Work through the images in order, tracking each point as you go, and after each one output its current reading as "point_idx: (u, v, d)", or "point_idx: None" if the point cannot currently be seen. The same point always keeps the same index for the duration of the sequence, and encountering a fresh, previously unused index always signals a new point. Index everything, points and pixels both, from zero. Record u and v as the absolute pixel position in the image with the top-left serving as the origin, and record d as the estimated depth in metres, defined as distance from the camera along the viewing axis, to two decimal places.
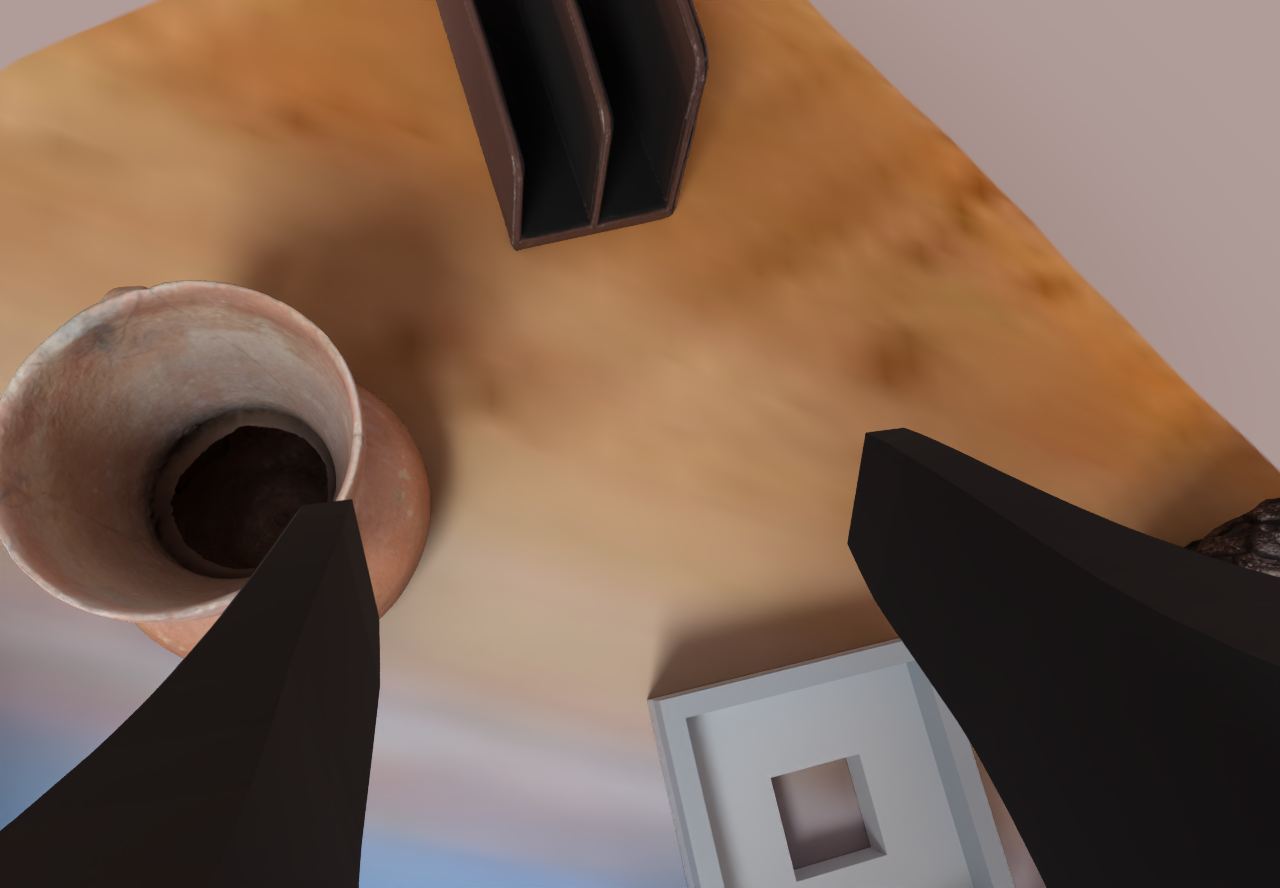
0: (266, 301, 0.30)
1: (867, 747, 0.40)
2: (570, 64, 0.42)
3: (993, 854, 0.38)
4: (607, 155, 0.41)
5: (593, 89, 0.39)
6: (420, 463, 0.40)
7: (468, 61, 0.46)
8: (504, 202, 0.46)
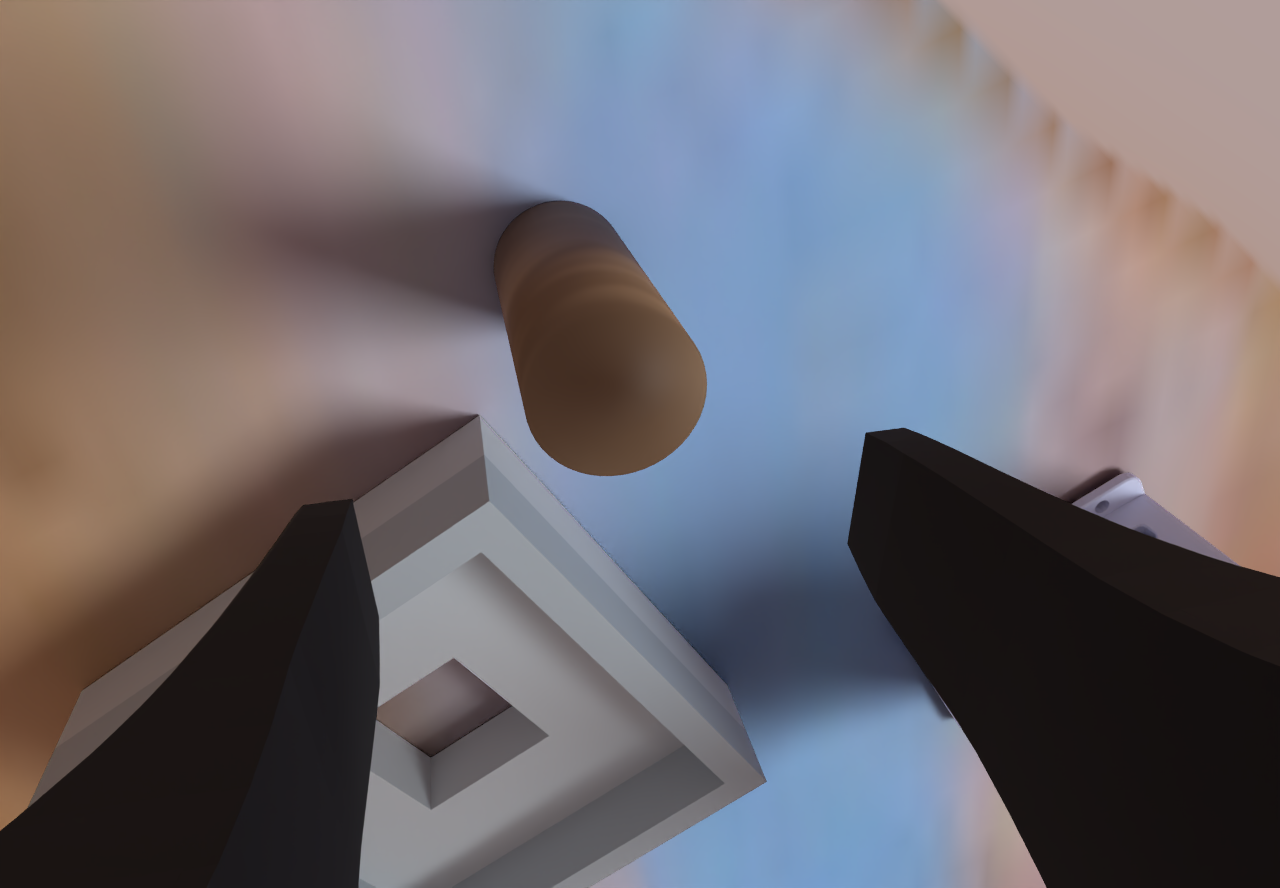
0: None
1: None
2: None
3: None
4: None
5: None
6: None
7: None
8: None
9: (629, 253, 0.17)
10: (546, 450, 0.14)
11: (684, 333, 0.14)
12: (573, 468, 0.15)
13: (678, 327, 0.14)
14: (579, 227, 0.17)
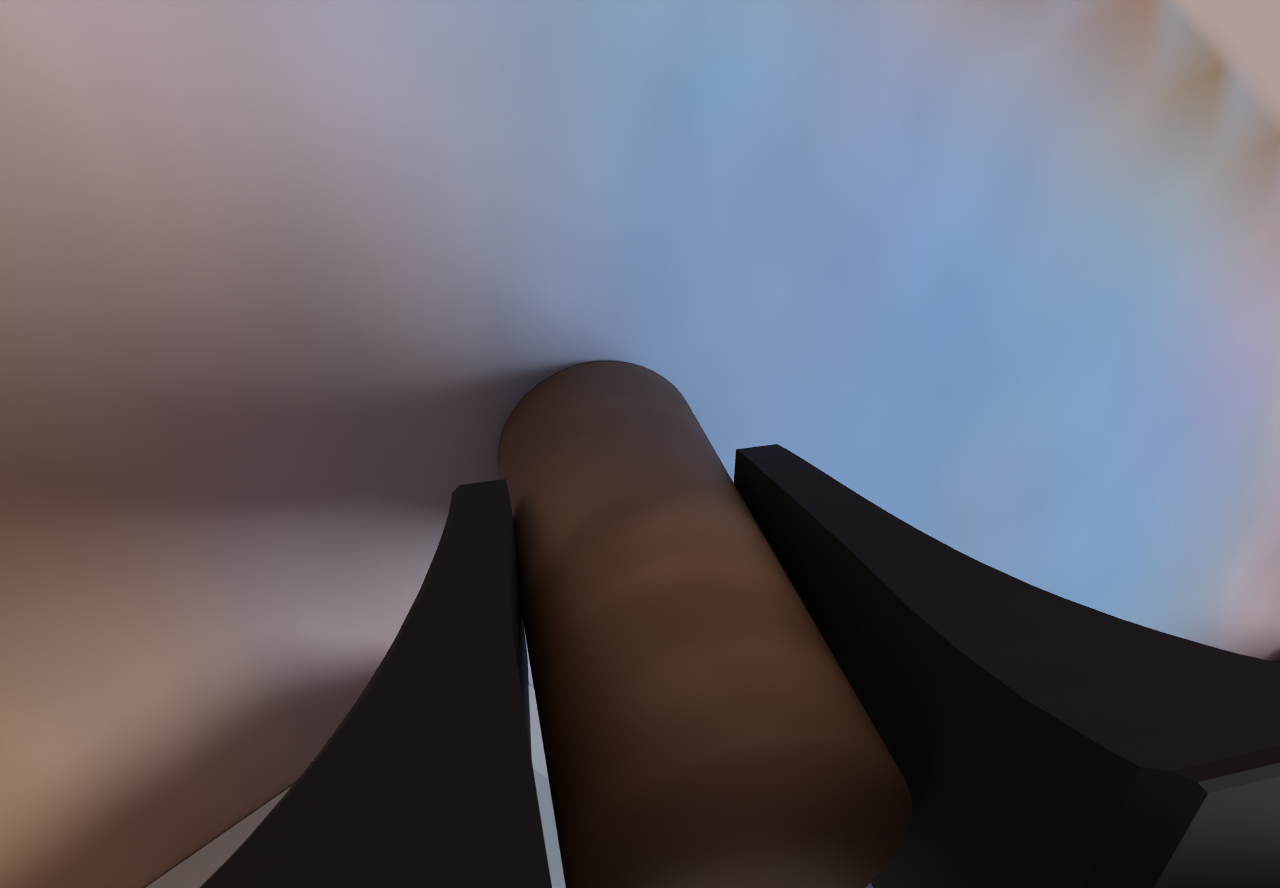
0: None
1: None
2: None
3: None
4: None
5: None
6: None
7: None
8: None
9: (722, 477, 0.11)
10: None
11: (881, 759, 0.07)
12: None
13: (870, 749, 0.07)
14: (639, 437, 0.10)
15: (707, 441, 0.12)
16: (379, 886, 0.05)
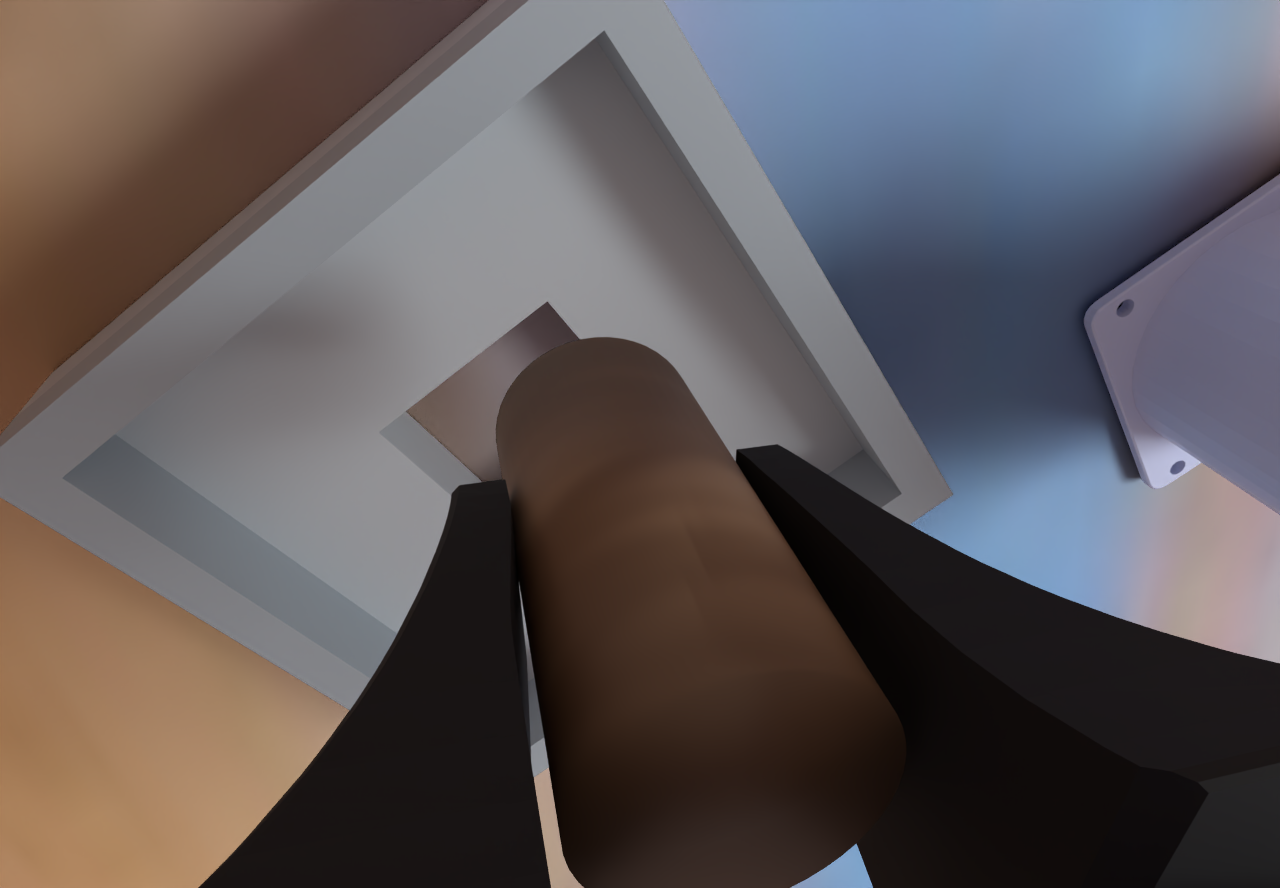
0: None
1: (355, 422, 0.17)
2: None
3: (434, 128, 0.13)
4: None
5: None
6: None
7: None
8: None
9: (723, 447, 0.11)
10: (594, 886, 0.08)
11: (881, 699, 0.07)
12: None
13: (871, 689, 0.07)
14: (643, 403, 0.11)
15: (707, 418, 0.12)
16: (378, 886, 0.05)
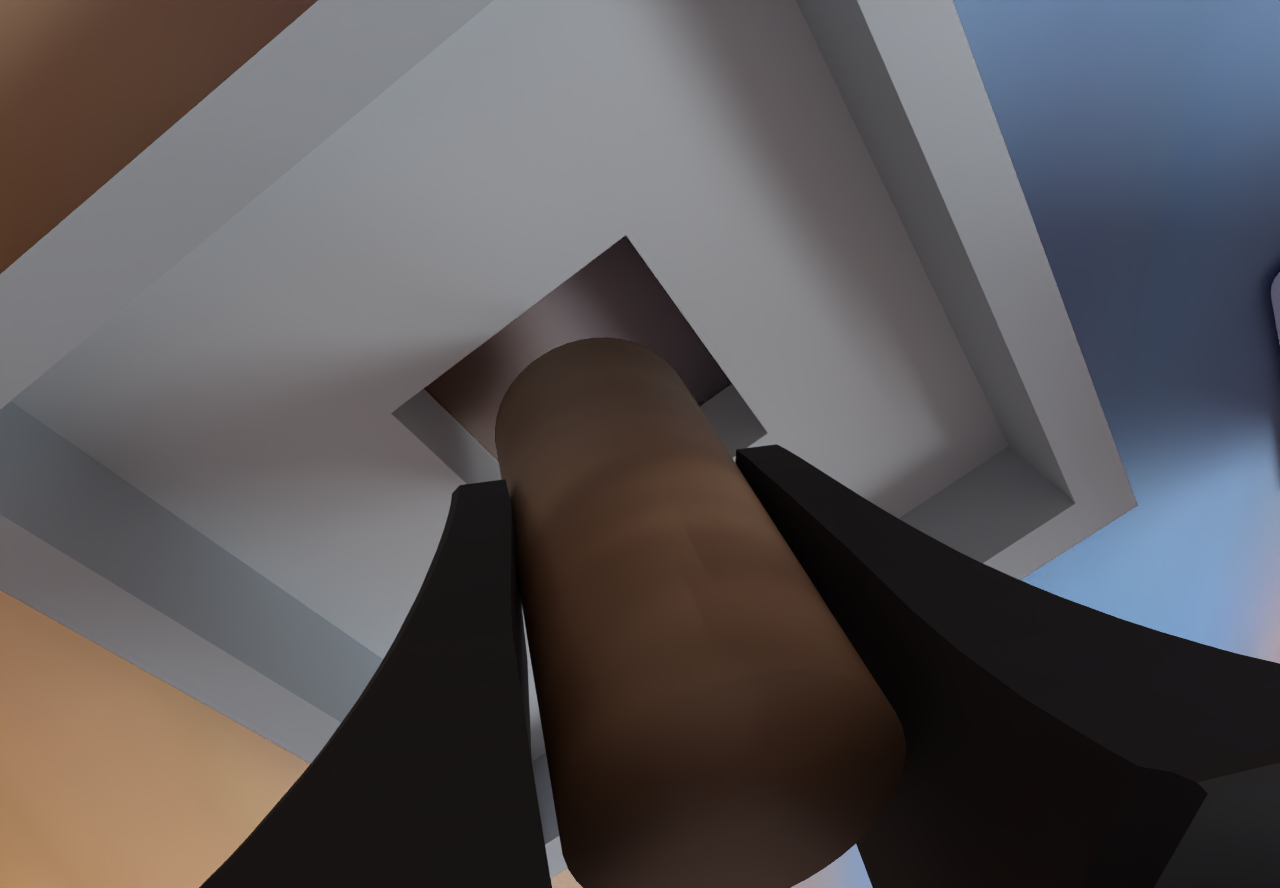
0: None
1: (359, 398, 0.13)
2: None
3: None
4: None
5: None
6: None
7: None
8: None
9: (723, 448, 0.11)
10: (593, 886, 0.08)
11: (881, 699, 0.07)
12: None
13: (871, 688, 0.07)
14: (643, 403, 0.11)
15: (706, 419, 0.12)
16: (379, 886, 0.05)
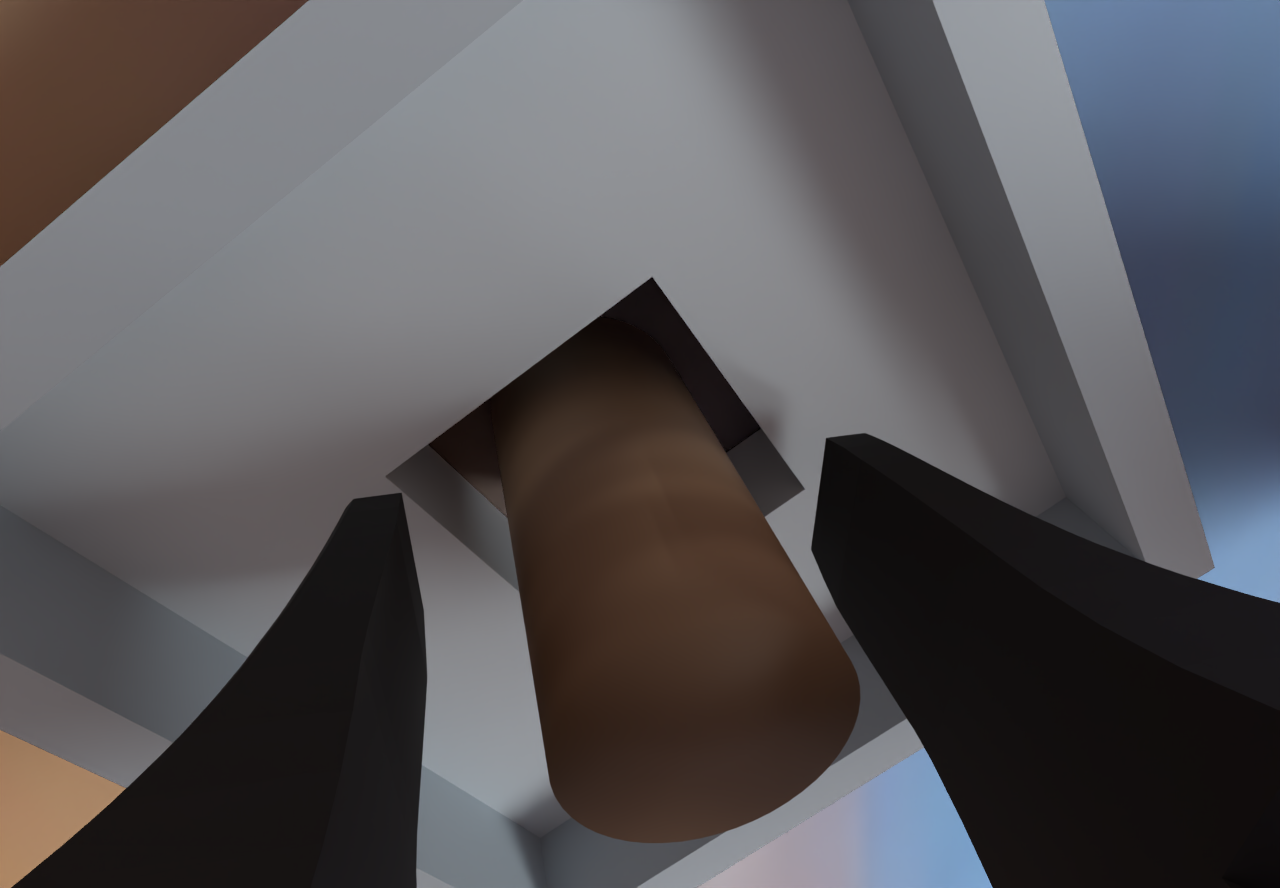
0: None
1: (348, 461, 0.11)
2: None
3: None
4: None
5: None
6: None
7: None
8: None
9: (704, 422, 0.11)
10: (578, 816, 0.08)
11: (837, 647, 0.08)
12: (622, 837, 0.09)
13: (827, 637, 0.08)
14: (630, 379, 0.11)
15: (690, 394, 0.12)
16: None
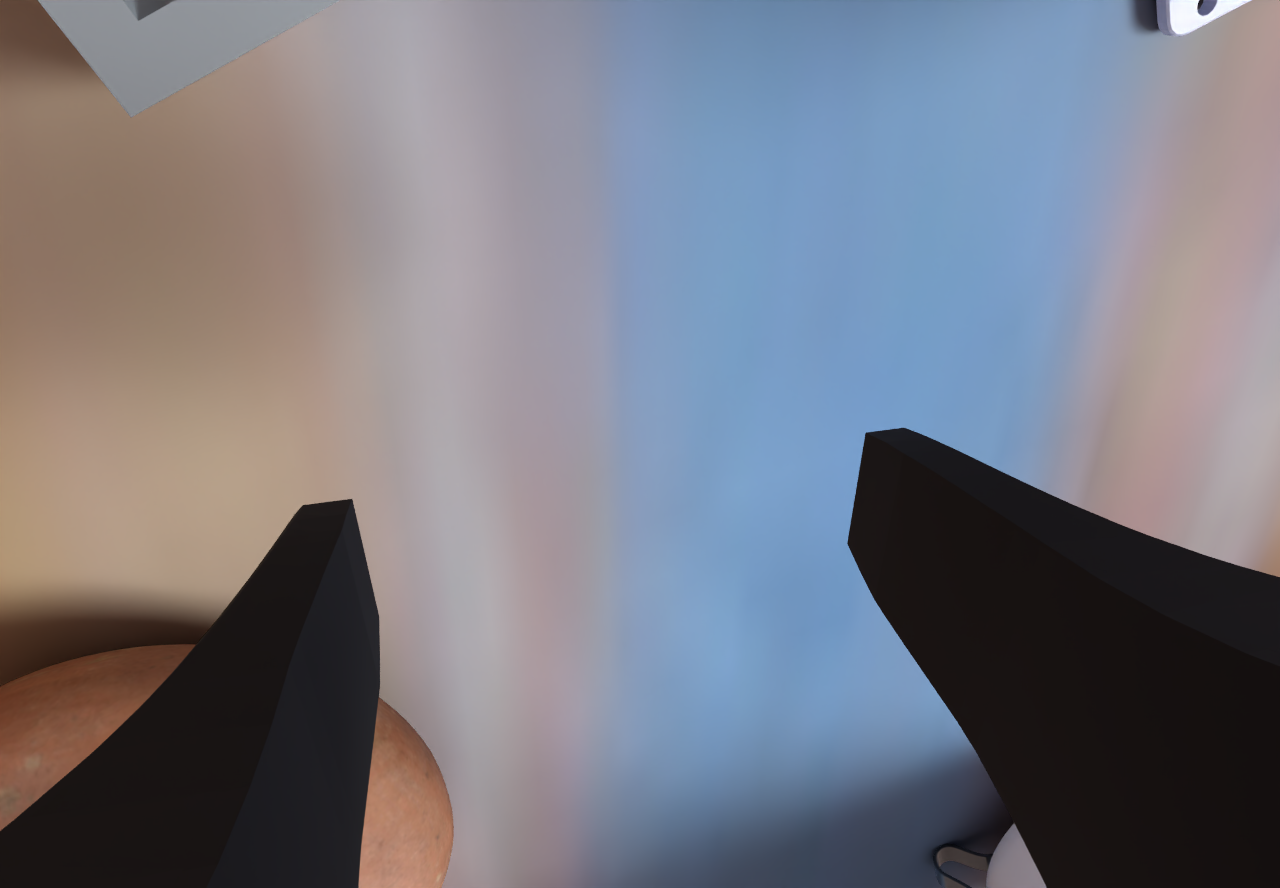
0: None
1: None
2: None
3: None
4: None
5: None
6: None
7: None
8: None
9: None
10: None
11: None
12: None
13: None
14: None
15: None
16: None
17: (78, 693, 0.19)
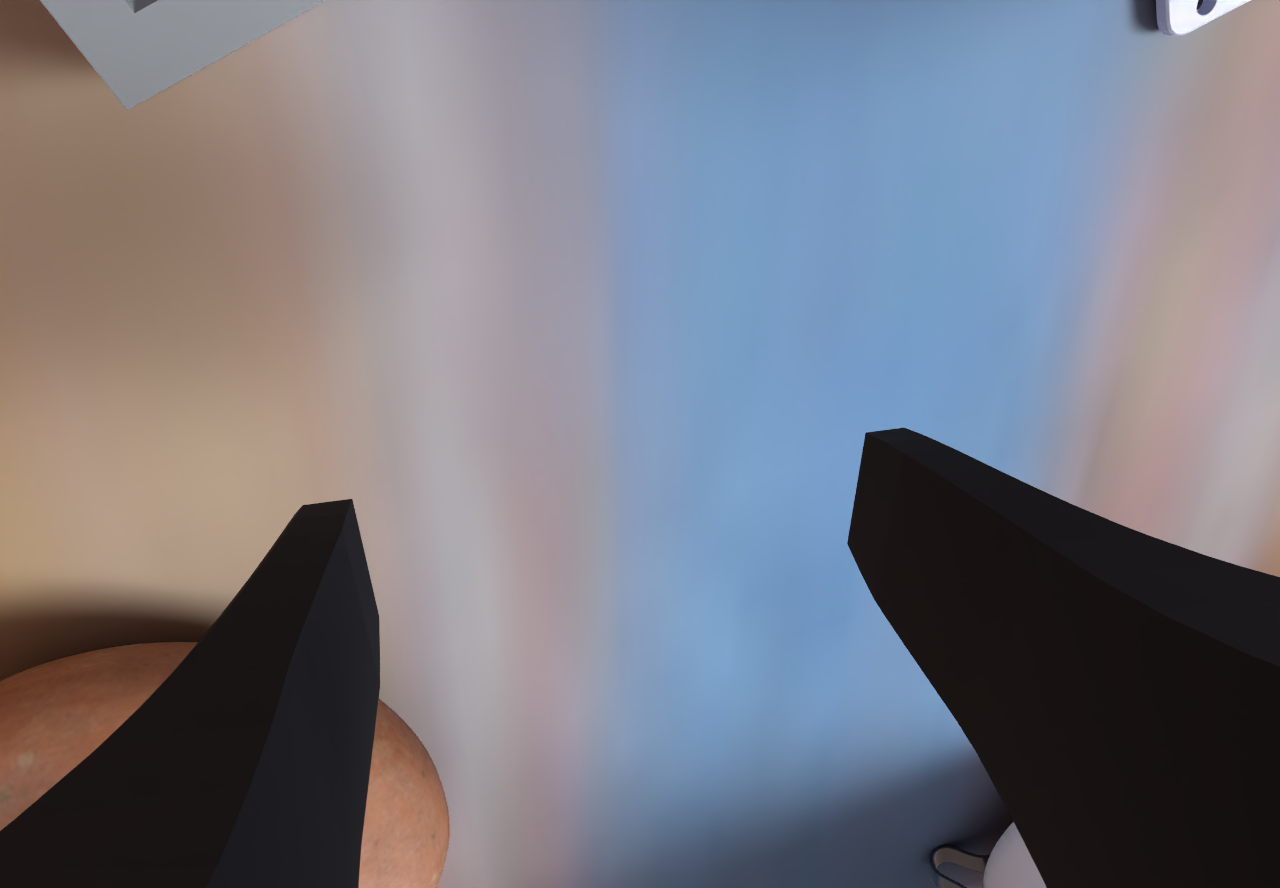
0: None
1: None
2: None
3: None
4: None
5: None
6: None
7: None
8: None
9: None
10: None
11: None
12: None
13: None
14: None
15: None
16: None
17: (72, 690, 0.19)
